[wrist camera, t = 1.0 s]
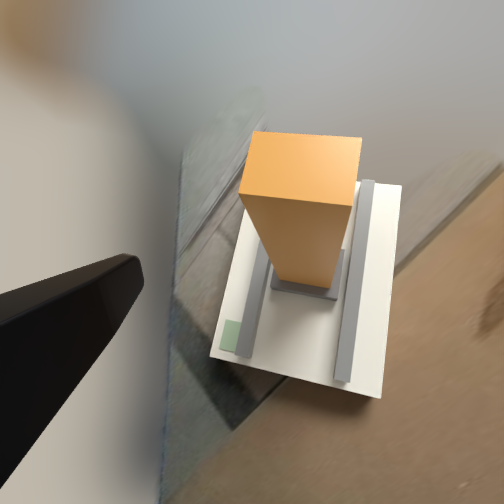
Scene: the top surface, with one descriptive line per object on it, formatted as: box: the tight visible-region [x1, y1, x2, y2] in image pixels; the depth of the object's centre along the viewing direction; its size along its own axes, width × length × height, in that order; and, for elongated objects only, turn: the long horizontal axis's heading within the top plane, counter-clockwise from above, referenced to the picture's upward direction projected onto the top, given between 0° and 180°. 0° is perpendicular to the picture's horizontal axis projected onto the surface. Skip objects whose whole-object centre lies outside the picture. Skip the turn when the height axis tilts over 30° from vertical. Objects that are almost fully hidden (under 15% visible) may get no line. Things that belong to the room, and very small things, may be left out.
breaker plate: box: [210, 179, 402, 399], centre depth 20 cm, size 13×10×3 cm
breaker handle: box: [238, 131, 362, 301], centre depth 14 cm, size 3×4×12 cm
